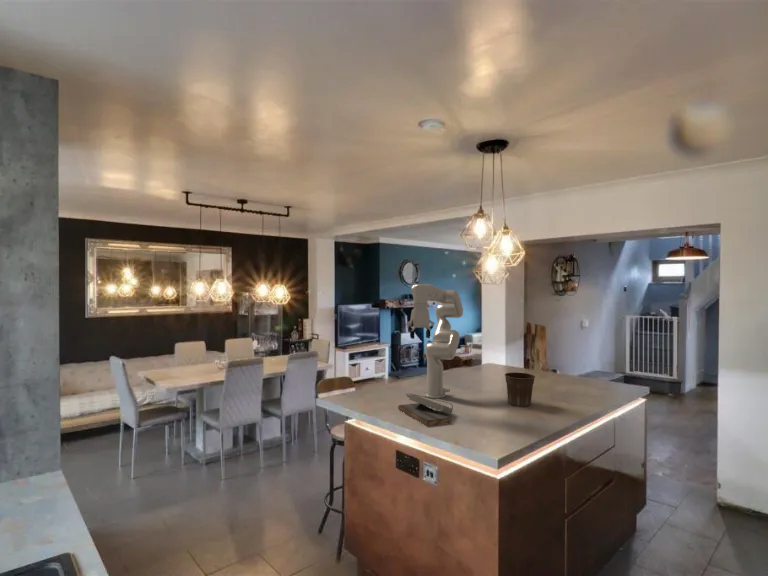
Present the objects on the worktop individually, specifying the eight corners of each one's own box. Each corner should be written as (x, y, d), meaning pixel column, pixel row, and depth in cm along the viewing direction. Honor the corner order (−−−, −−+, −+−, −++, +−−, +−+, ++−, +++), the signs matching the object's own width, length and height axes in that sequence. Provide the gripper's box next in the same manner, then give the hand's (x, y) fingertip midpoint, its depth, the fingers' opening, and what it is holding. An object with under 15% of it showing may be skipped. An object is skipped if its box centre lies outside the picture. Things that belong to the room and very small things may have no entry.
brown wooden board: (419, 407, 234) (420, 402, 234) (450, 423, 207) (450, 417, 207) (398, 409, 229) (398, 405, 229) (426, 426, 202) (426, 420, 202)
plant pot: (536, 409, 233) (537, 378, 233) (505, 407, 237) (505, 377, 237) (532, 401, 249) (533, 373, 249) (503, 399, 252) (503, 371, 253)
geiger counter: (453, 417, 222) (412, 402, 237) (457, 405, 224) (416, 391, 239) (441, 413, 212) (400, 398, 227) (445, 400, 213) (404, 386, 228)
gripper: (430, 306, 247) (430, 336, 247) (403, 306, 240) (403, 338, 240) (437, 307, 240) (437, 338, 240) (409, 307, 233) (409, 339, 233)
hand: (420, 338), depth 240 cm, fingers open, 9 cm apart
